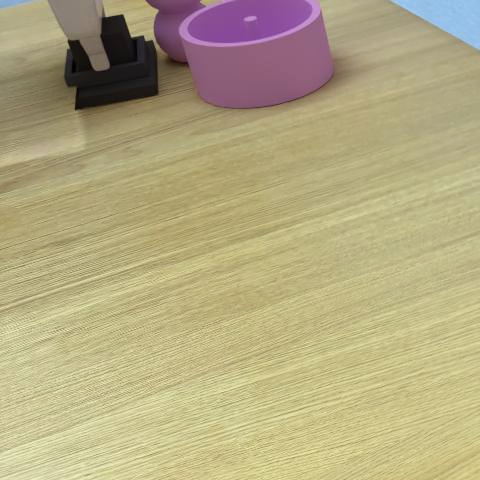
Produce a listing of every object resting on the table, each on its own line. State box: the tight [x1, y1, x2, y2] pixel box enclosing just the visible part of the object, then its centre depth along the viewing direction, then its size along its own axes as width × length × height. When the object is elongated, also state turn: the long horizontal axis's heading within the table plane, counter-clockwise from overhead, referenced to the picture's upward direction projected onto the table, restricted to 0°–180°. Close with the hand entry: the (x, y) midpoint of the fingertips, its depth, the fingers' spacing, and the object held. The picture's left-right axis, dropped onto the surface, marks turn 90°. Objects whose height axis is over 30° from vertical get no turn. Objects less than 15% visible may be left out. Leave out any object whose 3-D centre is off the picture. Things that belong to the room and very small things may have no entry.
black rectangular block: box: [67, 13, 137, 72], centre depth 118 cm, size 6×6×4 cm
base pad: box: [63, 34, 160, 111], centre depth 120 cm, size 10×14×3 cm
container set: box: [144, 0, 335, 109], centre depth 115 cm, size 25×15×13 cm, turn 49°
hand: (103, 52), depth 119 cm, fingers open, 8 cm apart
